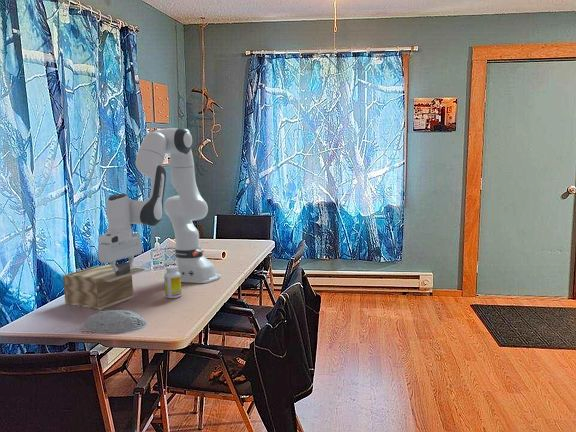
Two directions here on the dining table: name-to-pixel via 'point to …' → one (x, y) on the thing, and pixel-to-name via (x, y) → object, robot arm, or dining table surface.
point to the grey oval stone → (115, 322)
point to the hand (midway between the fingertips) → (122, 269)
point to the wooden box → (96, 291)
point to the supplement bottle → (172, 282)
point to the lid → (108, 272)
